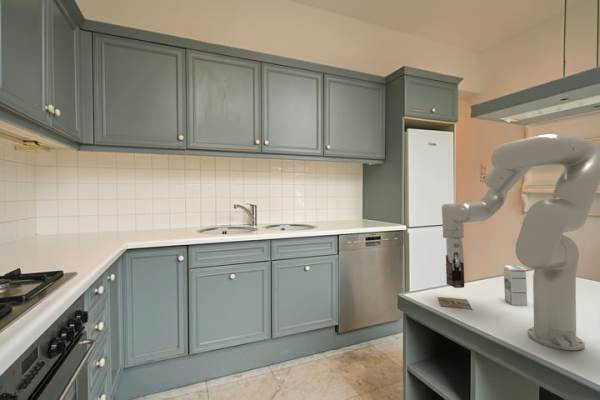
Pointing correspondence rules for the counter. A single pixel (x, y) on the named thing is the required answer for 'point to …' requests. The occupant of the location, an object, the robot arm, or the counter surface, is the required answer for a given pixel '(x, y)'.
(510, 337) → the counter surface
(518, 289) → the syrup box
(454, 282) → the box
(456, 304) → the brown board
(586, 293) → the counter surface
